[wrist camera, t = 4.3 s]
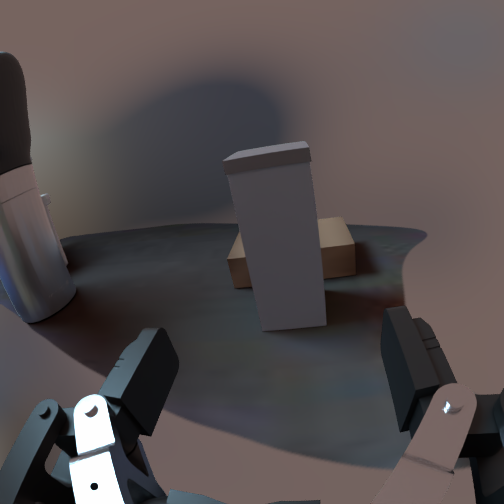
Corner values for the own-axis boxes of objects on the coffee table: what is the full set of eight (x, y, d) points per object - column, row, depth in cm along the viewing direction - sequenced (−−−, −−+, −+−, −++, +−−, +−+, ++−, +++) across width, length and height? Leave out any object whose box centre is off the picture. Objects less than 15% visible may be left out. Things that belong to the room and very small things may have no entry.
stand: (234, 288, 27) (227, 259, 26) (245, 254, 33) (240, 229, 32) (355, 274, 25) (354, 243, 23) (344, 242, 31) (341, 216, 30)
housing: (260, 332, 21) (222, 161, 16) (266, 295, 25) (237, 151, 20) (328, 326, 20) (309, 147, 15) (323, 289, 24) (304, 140, 19)
